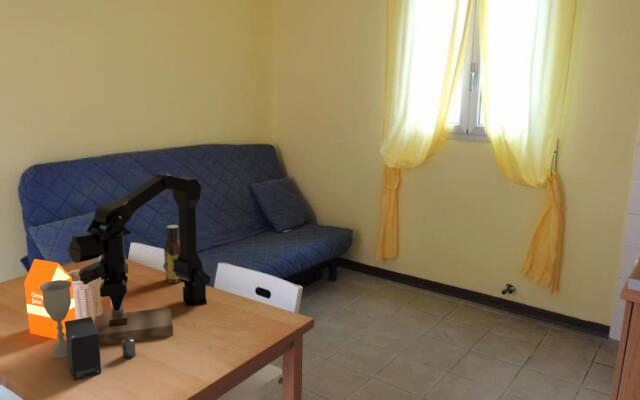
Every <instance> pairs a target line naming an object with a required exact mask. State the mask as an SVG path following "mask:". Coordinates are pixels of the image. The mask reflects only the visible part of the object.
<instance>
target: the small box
mask: <svg viewBox="0 0 640 400" xmlns="http://www.w3.org/2000/svg"><path fill="white" fill-rule="evenodd" d="M64 323H65V330H66V333H65V341H66V342H67V356H66V357H67V359H66V360H67V363H68V367H69V372H70V375H71V377H72V378H71V379H72V380H73V381H76V380H81V379H84V378H87V377H88V378H89V377H92V376H95V375H99V374H102V366H101V365H102V362H101V348H100V347H101V345H99V333H98V331H97V329H96V326H95V324H94V323H95V321H94V320H93V318H92V316H89V317H88V316H87V317H82V318H78V319H77V318H76V320H70V321H65V322H64Z"/></svg>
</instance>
